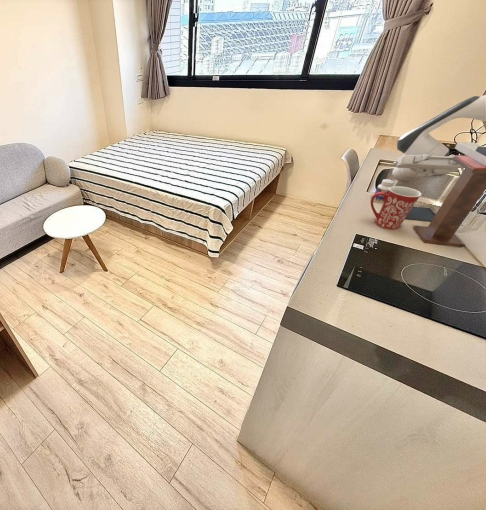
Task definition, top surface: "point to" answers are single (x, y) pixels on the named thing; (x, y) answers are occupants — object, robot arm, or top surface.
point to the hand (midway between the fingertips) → (444, 157)
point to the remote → (473, 151)
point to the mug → (395, 206)
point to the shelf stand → (456, 204)
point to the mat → (420, 214)
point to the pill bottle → (383, 189)
